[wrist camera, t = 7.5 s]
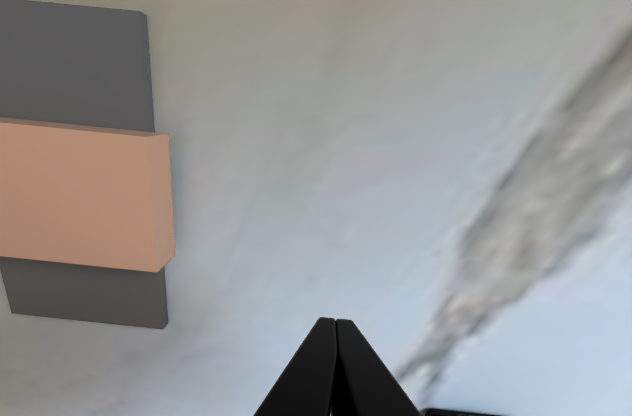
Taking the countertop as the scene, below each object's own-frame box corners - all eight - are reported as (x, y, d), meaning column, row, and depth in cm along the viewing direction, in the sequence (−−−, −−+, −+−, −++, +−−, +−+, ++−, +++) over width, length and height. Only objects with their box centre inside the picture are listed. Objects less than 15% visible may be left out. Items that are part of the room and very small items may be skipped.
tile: (156, 272, 16) (-11, 255, 16) (176, 254, 18) (26, 239, 18) (146, 136, 14) (-48, 117, 14) (169, 133, 16) (-1, 116, 16)
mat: (168, 323, 20) (163, 329, 20) (20, 307, 20) (11, 313, 20) (146, 15, 15) (138, 11, 14) (-57, -5, 15) (-72, -10, 14)
